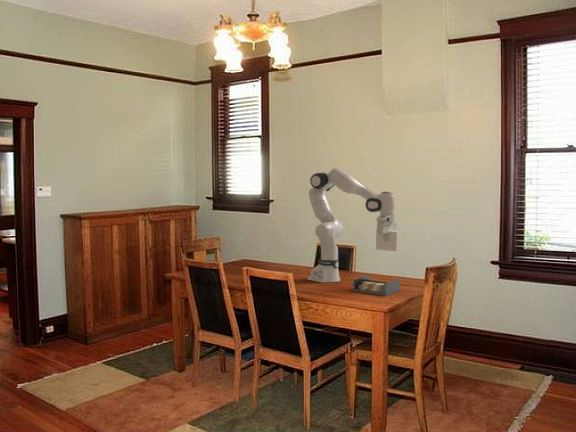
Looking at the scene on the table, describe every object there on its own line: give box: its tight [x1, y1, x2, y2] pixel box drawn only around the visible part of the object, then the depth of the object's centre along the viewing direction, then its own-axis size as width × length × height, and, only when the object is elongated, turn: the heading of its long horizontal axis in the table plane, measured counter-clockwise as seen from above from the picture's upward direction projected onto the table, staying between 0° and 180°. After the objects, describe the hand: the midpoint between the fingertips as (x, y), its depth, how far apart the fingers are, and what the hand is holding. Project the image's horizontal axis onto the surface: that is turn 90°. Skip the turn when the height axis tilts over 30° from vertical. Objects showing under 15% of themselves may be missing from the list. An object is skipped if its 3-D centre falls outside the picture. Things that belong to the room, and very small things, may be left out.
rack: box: [352, 274, 401, 297], centre depth 324 cm, size 22×18×7 cm
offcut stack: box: [359, 281, 384, 292], centre depth 321 cm, size 16×6×4 cm, turn 52°
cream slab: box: [375, 229, 400, 252], centre depth 335 cm, size 14×3×12 cm, turn 52°
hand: (387, 240), depth 335 cm, fingers closed on cream slab, 3 cm apart
